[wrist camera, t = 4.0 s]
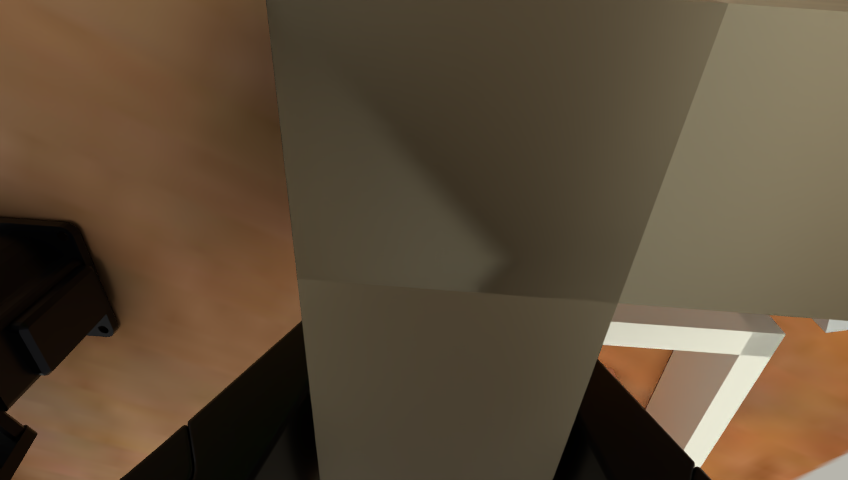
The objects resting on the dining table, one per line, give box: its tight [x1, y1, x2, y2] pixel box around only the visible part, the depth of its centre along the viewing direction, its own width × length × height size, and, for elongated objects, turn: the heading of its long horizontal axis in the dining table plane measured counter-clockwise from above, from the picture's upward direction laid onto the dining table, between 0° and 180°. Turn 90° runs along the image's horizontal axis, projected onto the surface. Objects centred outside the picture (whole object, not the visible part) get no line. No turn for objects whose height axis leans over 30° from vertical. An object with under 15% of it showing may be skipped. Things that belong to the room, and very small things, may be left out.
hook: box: [266, 0, 848, 480], centre depth 8 cm, size 12×14×4 cm
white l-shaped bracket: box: [603, 303, 786, 467], centre depth 23 cm, size 11×15×4 cm
